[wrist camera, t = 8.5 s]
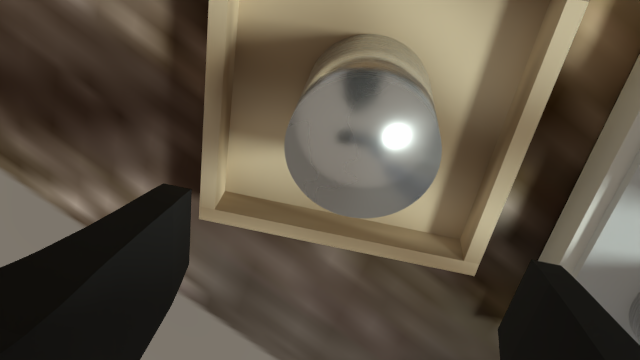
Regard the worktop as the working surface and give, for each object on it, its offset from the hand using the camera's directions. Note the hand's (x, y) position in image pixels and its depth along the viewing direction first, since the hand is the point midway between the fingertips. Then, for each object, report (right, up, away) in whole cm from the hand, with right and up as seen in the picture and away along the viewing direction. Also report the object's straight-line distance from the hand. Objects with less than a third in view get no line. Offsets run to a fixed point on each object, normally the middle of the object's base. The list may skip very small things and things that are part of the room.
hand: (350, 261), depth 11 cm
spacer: (+1, +5, +7) cm, 9 cm away
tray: (+1, +5, +8) cm, 9 cm away
